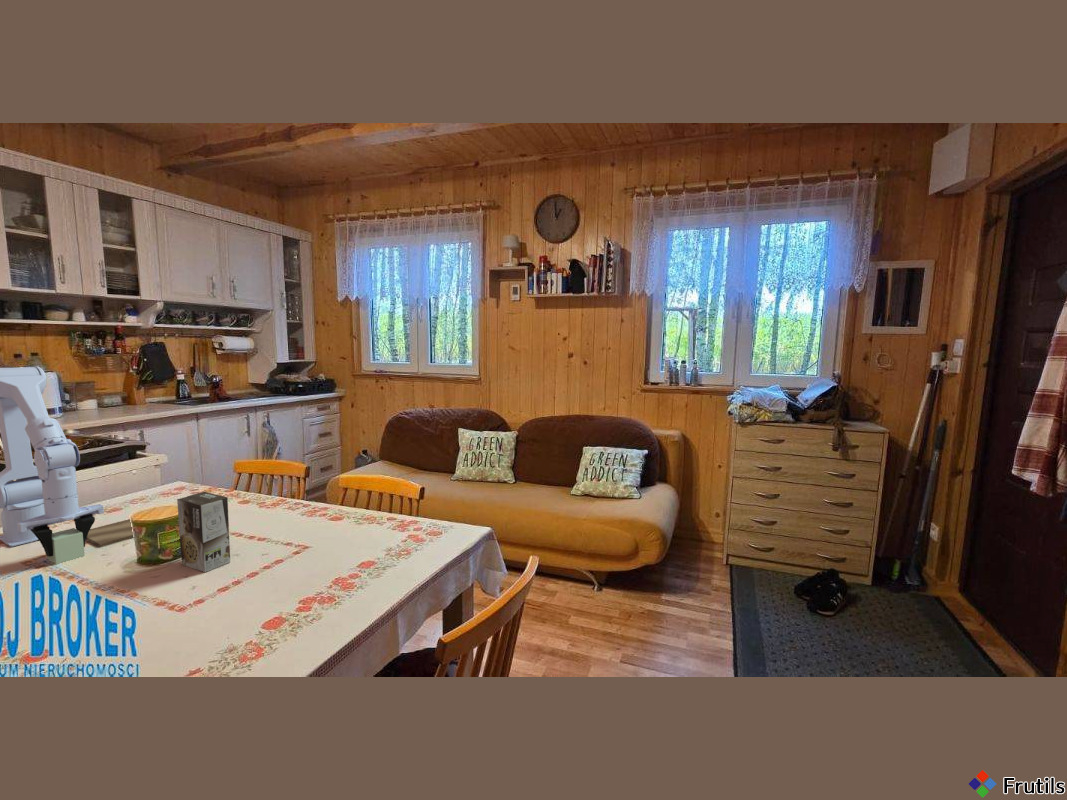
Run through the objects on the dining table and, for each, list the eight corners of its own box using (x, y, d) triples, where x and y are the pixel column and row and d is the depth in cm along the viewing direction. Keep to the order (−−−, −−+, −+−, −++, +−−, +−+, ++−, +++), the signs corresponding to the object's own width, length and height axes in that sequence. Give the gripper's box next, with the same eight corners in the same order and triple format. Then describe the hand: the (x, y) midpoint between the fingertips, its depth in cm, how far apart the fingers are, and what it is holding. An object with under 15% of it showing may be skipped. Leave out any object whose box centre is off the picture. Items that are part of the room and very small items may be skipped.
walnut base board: (78, 535, 126) (77, 532, 126) (137, 519, 137) (137, 517, 137) (100, 547, 120) (99, 544, 120) (160, 530, 131) (160, 527, 131)
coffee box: (232, 561, 115) (229, 497, 113) (204, 573, 109) (200, 505, 107) (208, 553, 119) (205, 490, 117) (179, 564, 113) (176, 498, 111)
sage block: (47, 559, 113) (45, 535, 112) (75, 551, 117) (73, 527, 116) (56, 564, 111) (54, 540, 110) (84, 556, 115) (82, 532, 114)
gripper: (23, 507, 104) (29, 567, 105) (107, 490, 116) (111, 543, 118) (11, 501, 107) (17, 559, 109) (94, 485, 120) (98, 537, 121)
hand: (65, 550), depth 114 cm, fingers closed on sage block, 5 cm apart
